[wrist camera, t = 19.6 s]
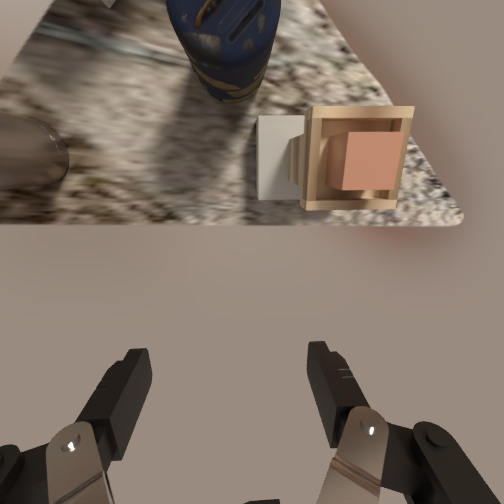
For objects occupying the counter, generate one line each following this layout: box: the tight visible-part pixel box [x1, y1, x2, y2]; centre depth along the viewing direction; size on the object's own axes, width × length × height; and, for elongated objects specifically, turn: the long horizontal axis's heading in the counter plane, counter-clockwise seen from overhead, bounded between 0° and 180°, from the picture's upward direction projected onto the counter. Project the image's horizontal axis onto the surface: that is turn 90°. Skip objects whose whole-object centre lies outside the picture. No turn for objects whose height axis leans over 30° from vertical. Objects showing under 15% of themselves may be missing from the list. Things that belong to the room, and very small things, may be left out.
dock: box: [256, 116, 305, 200], centre depth 38 cm, size 14×11×5 cm
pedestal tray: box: [288, 106, 414, 210], centre depth 28 cm, size 8×8×16 cm
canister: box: [166, 0, 281, 103], centre depth 27 cm, size 10×10×18 cm
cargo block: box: [325, 132, 404, 190], centre depth 20 cm, size 4×4×4 cm
